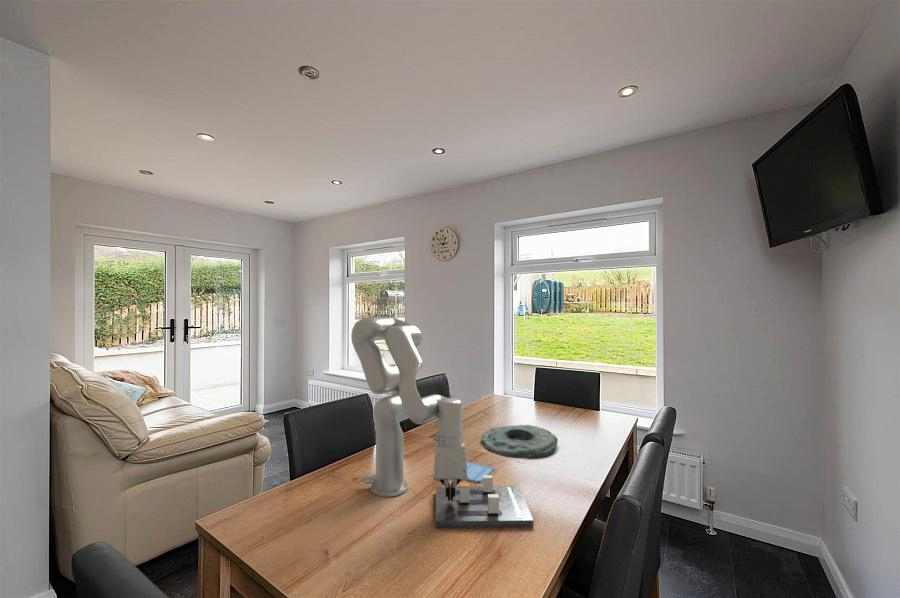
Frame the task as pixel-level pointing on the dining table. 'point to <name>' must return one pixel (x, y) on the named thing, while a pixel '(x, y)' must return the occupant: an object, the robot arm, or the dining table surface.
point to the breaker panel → (482, 509)
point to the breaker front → (493, 503)
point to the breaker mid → (465, 492)
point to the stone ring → (534, 447)
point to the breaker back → (487, 483)
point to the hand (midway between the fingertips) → (450, 498)
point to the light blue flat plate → (477, 472)
